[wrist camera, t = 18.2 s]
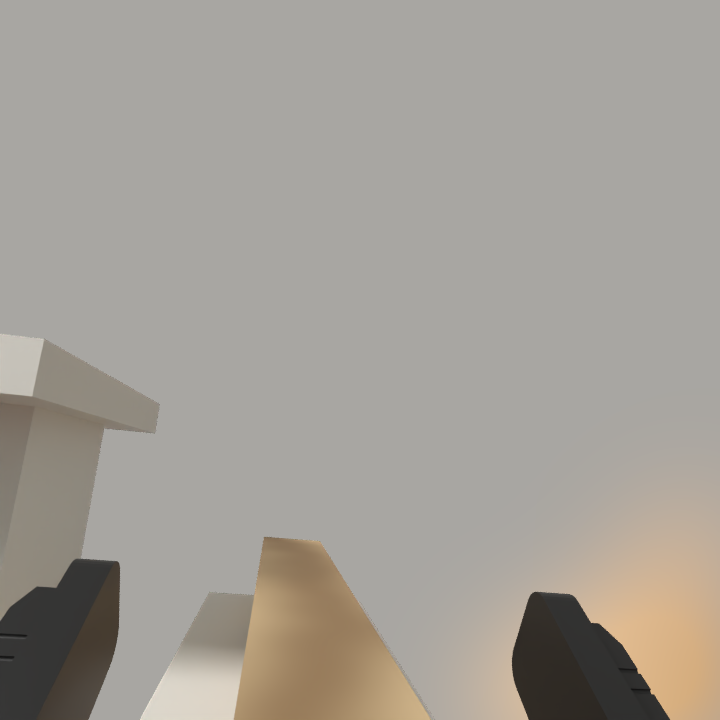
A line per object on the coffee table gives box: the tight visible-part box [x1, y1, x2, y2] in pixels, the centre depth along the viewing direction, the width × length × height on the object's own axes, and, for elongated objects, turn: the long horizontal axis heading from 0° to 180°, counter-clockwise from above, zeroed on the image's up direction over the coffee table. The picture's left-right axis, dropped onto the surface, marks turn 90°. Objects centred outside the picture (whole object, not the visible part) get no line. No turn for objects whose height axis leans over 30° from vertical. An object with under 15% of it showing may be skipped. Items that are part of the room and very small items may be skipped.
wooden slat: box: [234, 537, 431, 720], centre depth 18 cm, size 3×25×3 cm, turn 8°
